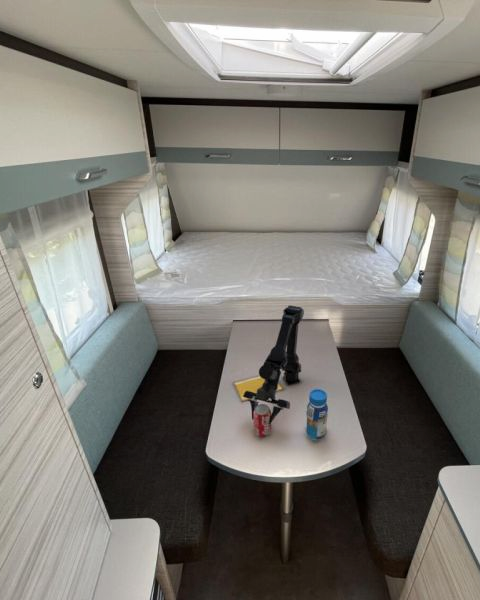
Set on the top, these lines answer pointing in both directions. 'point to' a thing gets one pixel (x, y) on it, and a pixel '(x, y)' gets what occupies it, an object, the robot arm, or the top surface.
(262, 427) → the soda can
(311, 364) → the top surface
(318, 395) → the beverage bottle
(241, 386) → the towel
